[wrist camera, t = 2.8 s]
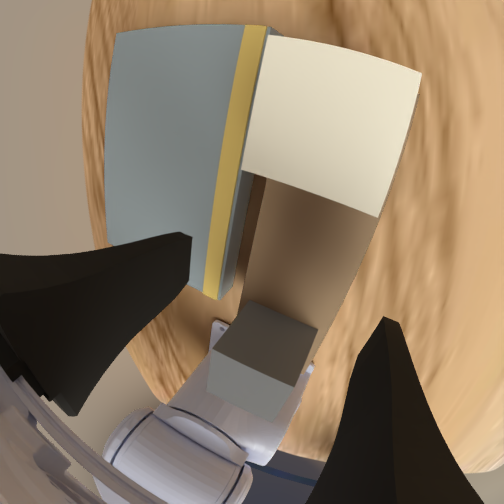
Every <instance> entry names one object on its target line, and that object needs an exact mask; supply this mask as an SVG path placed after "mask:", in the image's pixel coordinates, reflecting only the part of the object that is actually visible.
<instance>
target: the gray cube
mask: <svg viewBox="0 0 504 504" xmlns="http://www.w3.org/2000/svg"><path fill="white" fill-rule="evenodd" d="M317 332H318V329H316V328H313V327H311V326H309V325H306V324H304V323H301V322H299V321H297V320H294V319H292V318H290V317H287V316H285V315H283V314H280V313H278V312H276V311H274V310H271V309H269V308H267V307H265V306H262V305H260V304H258V303H256V302H253V301H251V300H249V301H248V302H247V304H246V305H245V306H244V308H243V309H242V310H241V312H240V313H239V314H238V316H237V317H236V318H235V319H234V321H233V322H232V323H231V325H230V326H229V327H228V329H227V330H226V331H225V332H224V334H223V335H222V336H221V338H220V339H219V340H218V341H217V343H216V344H215V345H214V347H213V348H212V351H211V358H210V366H209V373H208V380H207V388H206V391H207V392H209V393H211V394H213V395H215V396H217V397H219V398H221V399H222V400H224V401H226V402H228V403H230V404H232V405H234V406H236V407H238V408H241V409H243V410H245V411H247V412H249V413H251V414H253V415H255V416H258V417H260V418H262V419H264V420H267V421H269V422H271V423H272V422H273V421H274V419H275V418H276V416H277V415H278V413H279V412H280V410H281V409H282V407H283V405H284V404H285V402H286V401H287V399H288V397H289V396H290V394H291V392H292V391H293V389H294V387H295V385H296V383H297V381H298V378H299V376H300V374H301V371H302V369H303V367H304V364H305V362H306V359H307V357H308V354H309V352H310V349H311V347H312V344H313V342H314V339H315V337H316V334H317Z"/></svg>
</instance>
